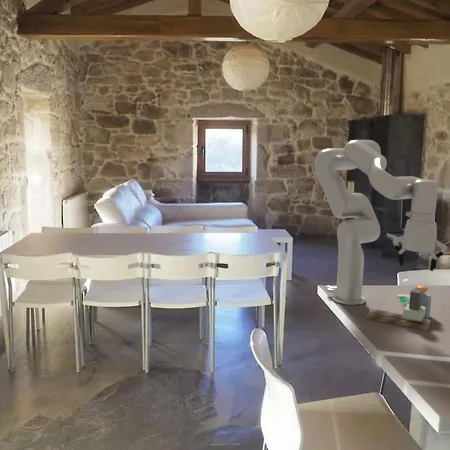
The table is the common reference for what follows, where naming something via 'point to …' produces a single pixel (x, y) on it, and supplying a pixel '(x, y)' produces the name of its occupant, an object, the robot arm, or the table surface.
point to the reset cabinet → (426, 304)
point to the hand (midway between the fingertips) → (416, 267)
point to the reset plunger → (423, 288)
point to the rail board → (397, 319)
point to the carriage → (415, 306)
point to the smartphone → (403, 299)
